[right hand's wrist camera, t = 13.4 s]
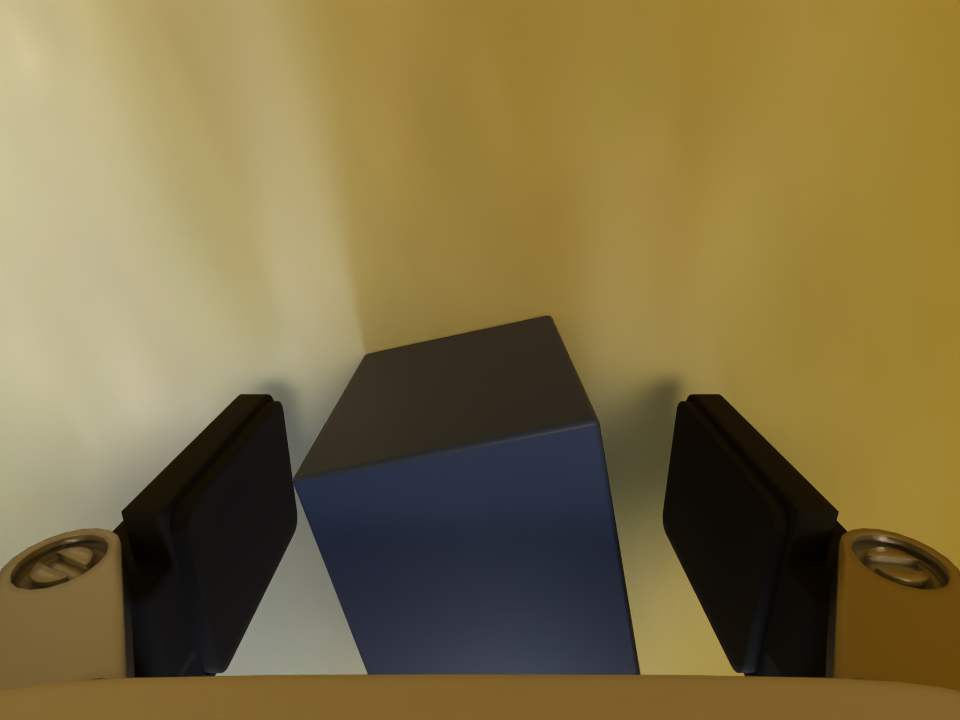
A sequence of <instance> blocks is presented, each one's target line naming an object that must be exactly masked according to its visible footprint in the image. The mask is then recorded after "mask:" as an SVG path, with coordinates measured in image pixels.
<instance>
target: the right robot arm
mask: <svg viewBox="0 0 960 720" xmlns="http://www.w3.org/2000/svg"><path fill="white" fill-rule="evenodd" d="M122 516H123V521H122V522H121V523H120V525H119V526H118V527H117V528H116V529H115V530H114V531H113V532H112V531H110V530H104V529H98V528H94V529H80V530H76V531H71V532H66V533H62V534H60V535H57V536H54V537H51V538H48V539H45V540H43V541H41V542H39V543H37V544H35V545H33V546H31V547H29V548H27V549H26V550H24V551H23V552H21V553H20V554H18V555H17V556H15V557H14V558H12V559H11V560H10V561H9V562H8V563H7V564H6V565H5V566H4V567H3V568H2V569H1V571H0V720H960V571H959V569H958V568H957V567H956V566H955V565H954V564H953V563H952V562H951V561H950V560H949V559H948V558H946V557H945V556H943V555H942V554H940V553H939V552H937V551H936V550H934V549H933V548H931V547H929V546H927V545H925V544H923V543H921V542H919V541H917V540H915V539H912V538H909V537H906V536H903V535H900V534H898V533H894V532H889V531H884V530H880V529H866V528H862V529H856V530H850V531H848V532H847V531H846V530H845V529H844V528H843V527H842V526H841V525H840V524H839V522H838V521H837V516H838V511H837V510H836V509H835V508H834V507H833V506H832V505H831V504H830V503H829V502H828V501H827V500H826V499H825V498H824V497H823V496H822V495H821V494H820V493H819V492H818V491H817V490H816V489H815V488H814V487H813V486H812V485H811V484H810V483H809V482H808V481H807V480H806V479H805V478H804V477H803V476H802V475H801V474H800V473H799V472H798V471H797V470H796V469H795V468H794V467H793V466H792V465H791V464H790V463H789V462H788V461H787V460H786V459H785V458H784V457H783V456H782V455H781V454H780V453H779V452H778V451H777V450H776V449H775V448H774V447H773V446H772V445H771V444H770V443H769V442H768V441H767V440H766V439H765V438H764V437H763V436H762V435H761V434H760V433H759V432H758V431H757V430H756V429H755V428H754V427H753V426H752V425H751V424H750V423H749V422H748V421H747V420H746V419H744V418H743V417H742V416H741V415H740V414H739V413H738V412H737V411H736V410H735V409H734V408H733V407H732V406H731V405H730V404H729V403H728V402H727V401H726V400H725V399H724V398H723V397H722V396H721V395H719V394H692V395H689V396H688V398H687V400H686V401H681V402H680V403H679V404H678V407H677V412H676V420H675V427H674V435H673V442H672V449H671V457H670V464H669V472H668V479H667V486H666V494H665V501H664V509H663V525H664V530H665V532H666V535H667V537H668V539H669V541H670V543H671V545H672V547H673V549H674V551H675V553H676V555H677V557H678V559H679V561H680V563H681V565H682V567H683V569H684V571H685V573H686V575H687V577H688V579H689V581H690V583H691V585H692V587H693V589H694V591H695V593H696V595H697V597H698V599H699V601H700V603H701V605H702V607H703V610H704V612H705V614H706V616H707V618H708V620H709V622H710V624H711V626H712V628H713V630H714V632H715V634H716V636H717V638H718V640H719V642H720V644H721V646H722V648H723V650H724V652H725V654H726V656H727V658H728V660H729V662H730V664H731V666H732V668H733V669H734V670H735V671H736V672H737V673H744V675H745V676H705V675H572V674H387V675H255V676H215V675H216V673H223V672H224V671H225V670H226V669H227V668H228V666H229V664H230V662H231V660H232V658H233V656H234V654H235V652H236V650H237V648H238V646H239V644H240V642H241V640H242V638H243V636H244V634H245V632H246V630H247V628H248V626H249V624H250V622H251V620H252V618H253V616H254V614H255V612H256V609H257V607H258V605H259V603H260V601H261V599H262V597H263V595H264V593H265V591H266V589H267V587H268V585H269V583H270V581H271V579H272V577H273V575H274V573H275V571H276V569H277V567H278V565H279V563H280V561H281V559H282V557H283V555H284V553H285V551H286V549H287V547H288V545H289V543H290V541H291V539H292V537H293V535H294V532H295V530H296V525H297V509H296V501H295V494H294V487H293V479H292V472H291V464H290V457H289V449H288V442H287V435H286V427H285V420H284V412H283V407H282V404H281V403H280V402H279V401H274V400H273V398H272V396H271V395H268V394H241V395H239V396H238V397H237V398H236V399H235V400H234V401H233V402H232V403H231V404H230V405H229V406H228V407H227V408H226V409H225V410H224V411H223V412H222V413H221V414H220V415H219V416H218V417H217V418H215V419H214V420H213V421H212V422H211V423H210V424H209V425H208V426H207V427H206V428H205V429H204V430H203V431H202V432H201V433H200V434H199V435H198V436H197V437H196V438H195V439H194V440H193V441H192V442H191V443H190V444H189V445H188V446H187V447H186V448H185V449H184V450H183V451H182V452H181V453H180V454H179V455H178V456H177V457H176V458H175V459H174V460H173V461H172V462H171V463H170V464H169V465H168V466H167V467H166V468H165V469H164V470H163V471H162V472H161V473H160V474H159V475H158V476H157V477H156V478H155V479H154V480H153V481H152V482H151V483H150V484H149V485H148V486H147V487H146V488H145V489H144V490H143V491H142V492H141V493H140V494H139V495H138V496H137V497H136V498H135V499H134V500H133V501H132V502H131V503H130V504H129V505H128V506H127V507H126V508H125V509H124V510H123V511H122Z"/></svg>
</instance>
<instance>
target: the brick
mask: <svg viewBox="0 0 960 720" xmlns="http://www.w3.org/2000/svg"><path fill="white" fill-rule="evenodd" d="M293 482H294V486H295V489H296V491H297V494H298V496H299V499H300V501H301V504H302V506H303V509H304V512H305V514H306V517H307V519H308V522H309V524H310V527H311V530H312V532H313V535H314V537H315V540H316V542H317V545H318V547H319V550H320V553H321V555H322V558H323V560H324V563H325V565H326V568H327V571H328V573H329V576H330V578H331V581H332V583H333V586H334V588H335V591H336V594H337V596H338V599H339V601H340V604H341V606H342V609H343V612H344V614H345V617H346V619H347V622H348V624H349V627H350V629H351V632H352V635H353V637H354V640H355V642H356V645H357V647H358V650H359V653H360V655H361V658H362V660H363V663H364V665H365V668H366V670H367V673H368V675H387V674H572V675H640V668H639V662H638V656H637V650H636V644H635V638H634V632H633V626H632V620H631V613H630V607H629V601H628V595H627V589H626V583H625V577H624V571H623V565H622V558H621V552H620V546H619V540H618V534H617V528H616V522H615V516H614V510H613V503H612V497H611V491H610V485H609V479H608V473H607V467H606V461H605V455H604V448H603V442H602V436H601V430H600V424H599V421H598V418H597V416H596V414H595V412H594V409H593V407H592V405H591V403H590V401H589V398H588V396H587V394H586V392H585V390H584V387H583V385H582V383H581V381H580V379H579V376H578V374H577V372H576V370H575V367H574V365H573V363H572V361H571V359H570V356H569V354H568V352H567V350H566V348H565V345H564V343H563V341H562V339H561V337H560V334H559V332H558V330H557V328H556V325H555V323H554V321H553V319H552V317H550V316H546V317H541V318H537V319H532V320H527V321H523V322H518V323H513V324H508V325H504V326H499V327H494V328H490V329H485V330H480V331H475V332H471V333H466V334H461V335H457V336H452V337H447V338H442V339H438V340H433V341H428V342H424V343H419V344H414V345H409V346H405V347H400V348H395V349H390V350H386V351H381V352H376V353H372V354H367V355H365V356H364V358H363V360H362V361H361V363H360V365H359V367H358V368H357V370H356V372H355V373H354V375H353V377H352V379H351V380H350V382H349V384H348V385H347V387H346V389H345V391H344V392H343V394H342V396H341V398H340V399H339V401H338V403H337V404H336V406H335V408H334V410H333V411H332V413H331V415H330V416H329V418H328V420H327V422H326V423H325V425H324V427H323V429H322V430H321V432H320V434H319V435H318V437H317V439H316V441H315V442H314V444H313V446H312V447H311V449H310V451H309V453H308V454H307V456H306V458H305V459H304V461H303V463H302V465H301V466H300V468H299V470H298V472H297V473H296V475H295V477H294V481H293Z"/></svg>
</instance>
